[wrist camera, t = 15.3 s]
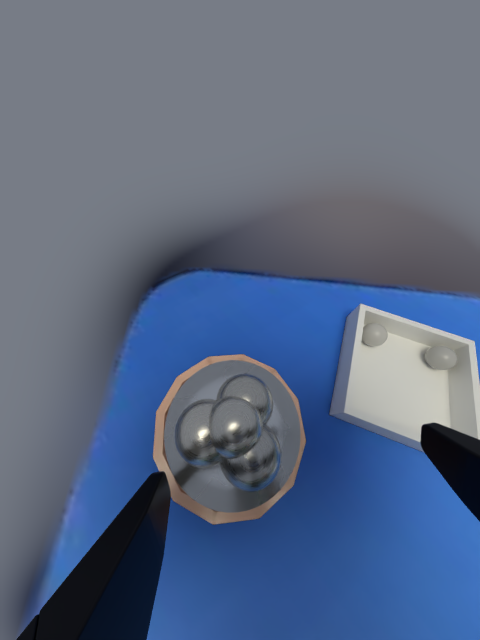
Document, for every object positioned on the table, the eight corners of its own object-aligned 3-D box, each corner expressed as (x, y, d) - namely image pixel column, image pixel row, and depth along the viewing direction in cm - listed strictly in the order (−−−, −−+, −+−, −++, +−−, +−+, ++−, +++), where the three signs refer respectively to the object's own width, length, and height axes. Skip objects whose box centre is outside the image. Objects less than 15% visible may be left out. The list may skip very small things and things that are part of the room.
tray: (453, 464, 20) (489, 469, 17) (329, 414, 21) (344, 412, 18) (447, 351, 24) (474, 341, 22) (346, 316, 26) (360, 303, 23)
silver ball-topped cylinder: (243, 477, 18) (281, 588, 5) (188, 444, 19) (107, 471, 6) (269, 414, 20) (340, 386, 7) (218, 387, 21) (204, 321, 8)
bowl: (210, 537, 17) (205, 570, 13) (148, 411, 20) (129, 406, 16) (312, 443, 20) (334, 446, 16) (243, 349, 23) (246, 332, 19)
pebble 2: (434, 377, 22) (456, 371, 20) (414, 358, 23) (433, 350, 21) (447, 364, 23) (469, 357, 21) (427, 346, 24) (447, 337, 22)
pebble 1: (368, 353, 23) (383, 345, 21) (351, 336, 24) (363, 326, 22) (383, 341, 24) (398, 332, 22) (365, 324, 25) (379, 314, 23)
